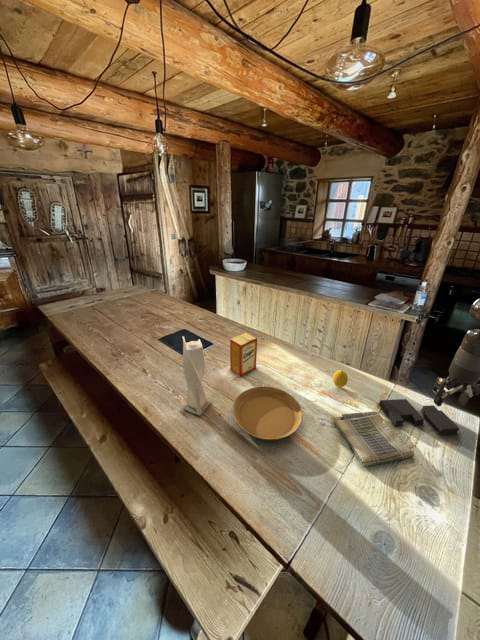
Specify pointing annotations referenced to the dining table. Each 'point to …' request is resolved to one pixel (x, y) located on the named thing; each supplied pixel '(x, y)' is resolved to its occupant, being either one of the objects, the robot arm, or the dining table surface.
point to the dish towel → (372, 438)
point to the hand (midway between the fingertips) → (449, 404)
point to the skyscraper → (194, 376)
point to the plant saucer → (267, 413)
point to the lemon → (340, 378)
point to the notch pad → (400, 412)
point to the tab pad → (439, 420)
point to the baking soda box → (243, 354)
